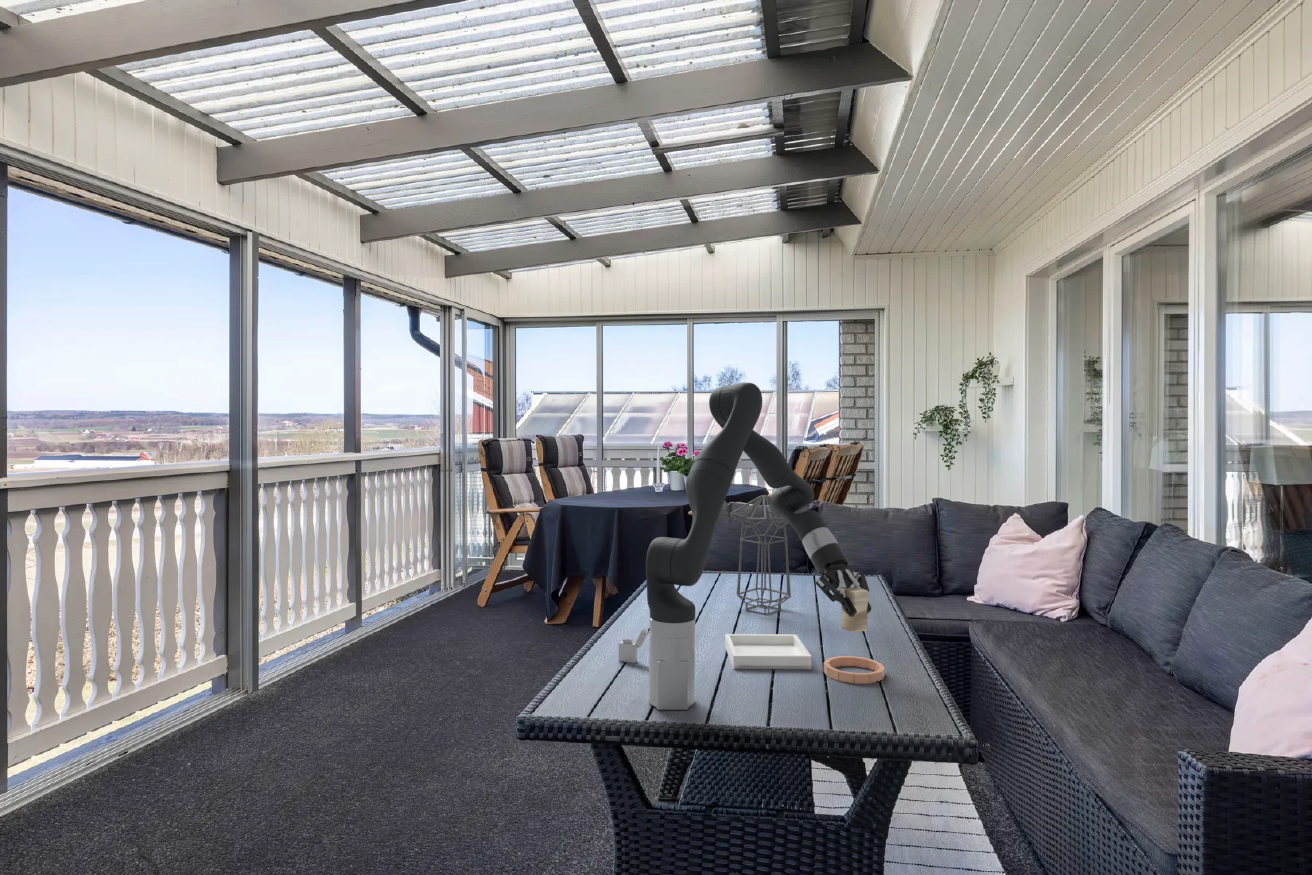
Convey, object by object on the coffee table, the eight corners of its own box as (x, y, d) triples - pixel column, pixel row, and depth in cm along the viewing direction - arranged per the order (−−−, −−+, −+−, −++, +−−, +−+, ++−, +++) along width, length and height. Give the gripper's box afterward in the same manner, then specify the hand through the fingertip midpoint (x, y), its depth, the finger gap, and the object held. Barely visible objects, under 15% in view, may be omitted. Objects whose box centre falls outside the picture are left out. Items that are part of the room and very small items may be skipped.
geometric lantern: (799, 610, 234) (801, 495, 232) (767, 621, 223) (768, 499, 221) (758, 600, 245) (759, 490, 243) (725, 610, 234) (726, 494, 232)
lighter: (618, 660, 184) (618, 627, 184) (621, 658, 185) (621, 625, 185) (646, 664, 181) (646, 630, 181) (648, 662, 183) (649, 628, 183)
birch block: (867, 630, 175) (867, 590, 175) (854, 632, 173) (855, 592, 173) (854, 626, 179) (854, 587, 178) (841, 628, 177) (842, 588, 176)
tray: (811, 669, 179) (811, 656, 179) (733, 668, 179) (733, 655, 179) (795, 646, 197) (796, 634, 197) (725, 645, 197) (725, 634, 197)
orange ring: (891, 683, 170) (891, 674, 170) (832, 683, 170) (832, 674, 170) (873, 664, 183) (873, 656, 183) (818, 664, 183) (818, 655, 183)
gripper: (809, 543, 178) (846, 607, 168) (854, 539, 186) (892, 600, 175) (793, 562, 183) (829, 626, 173) (838, 558, 190) (874, 618, 180)
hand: (860, 613), depth 174 cm, fingers closed on birch block, 4 cm apart
